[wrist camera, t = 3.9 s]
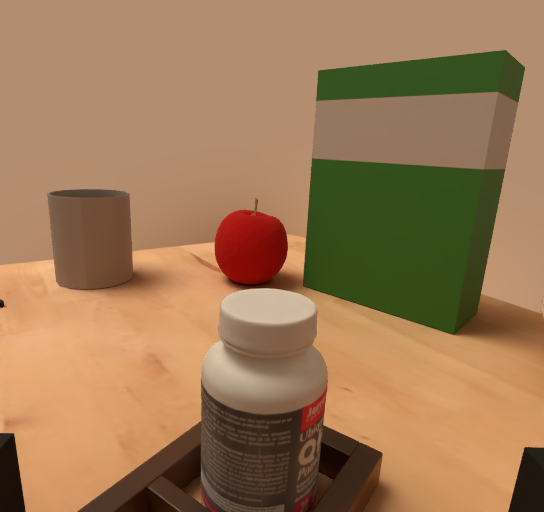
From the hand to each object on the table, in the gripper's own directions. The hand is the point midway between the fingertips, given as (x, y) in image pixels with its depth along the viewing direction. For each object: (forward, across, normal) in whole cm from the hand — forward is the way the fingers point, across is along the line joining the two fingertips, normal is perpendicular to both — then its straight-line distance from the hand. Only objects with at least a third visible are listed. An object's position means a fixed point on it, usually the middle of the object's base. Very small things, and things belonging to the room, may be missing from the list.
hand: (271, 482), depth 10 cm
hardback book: (+34, +14, -8) cm, 37 cm away
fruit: (+39, -2, -8) cm, 39 cm away
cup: (+37, -20, -8) cm, 43 cm away
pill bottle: (+7, 0, -8) cm, 10 cm away
